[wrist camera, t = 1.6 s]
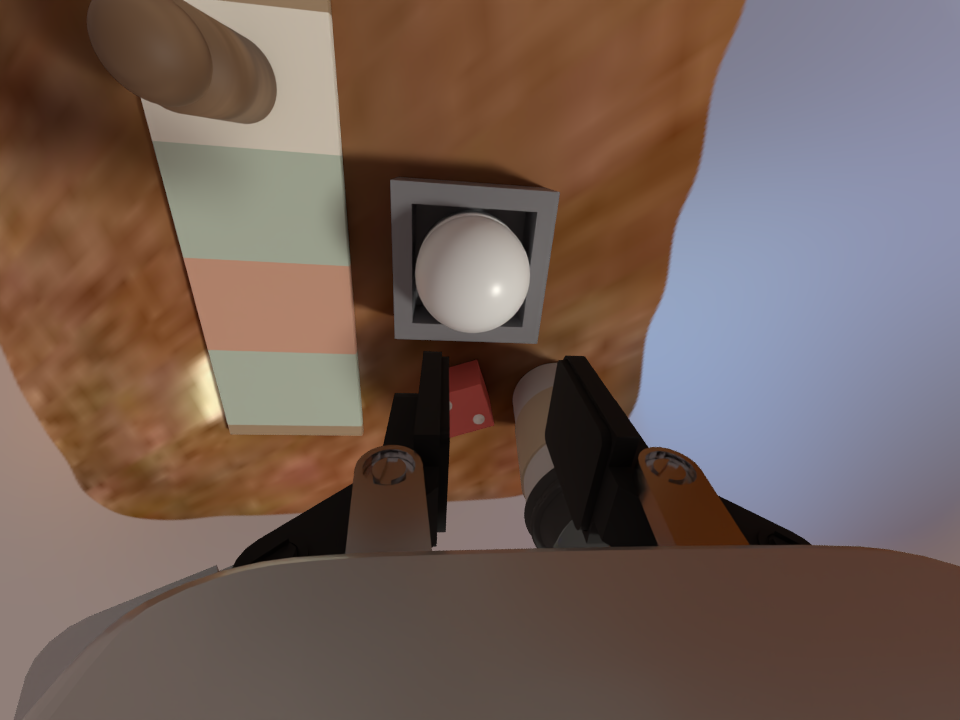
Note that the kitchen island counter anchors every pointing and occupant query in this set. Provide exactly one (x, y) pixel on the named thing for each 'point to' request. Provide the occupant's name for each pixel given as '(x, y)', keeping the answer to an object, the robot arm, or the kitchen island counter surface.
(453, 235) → the dome
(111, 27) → the walnut pawn
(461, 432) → the red die
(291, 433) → the game board
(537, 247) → the base
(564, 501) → the coffee cup
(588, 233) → the kitchen island counter surface
